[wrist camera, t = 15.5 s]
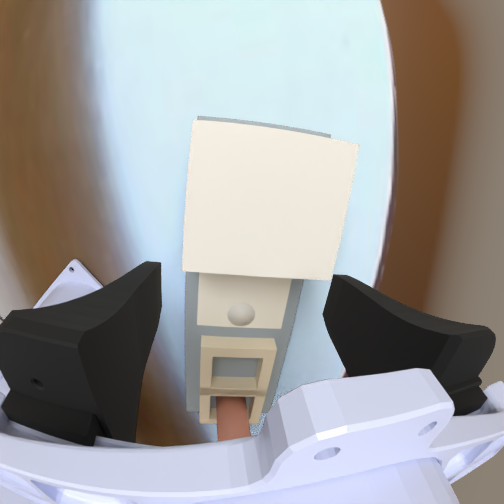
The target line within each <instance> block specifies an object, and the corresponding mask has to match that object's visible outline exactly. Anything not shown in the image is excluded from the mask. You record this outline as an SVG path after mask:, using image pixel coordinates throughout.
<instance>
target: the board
mask: <svg viewBox="0 0 504 504" xmlns="http://www.w3.org/2000/svg"><path fill="white" fill-rule="evenodd" d="M197 120H206V121H218V122H229V123H238V124H247V125H255V126H262V127H269V128H276V129H283V130H289V131H295V132H301V133H306V134H311V135H317V136H322V137H327V138H331V135H330V134H326V133H321V132H316V131H311V130H305V129H300V128H294V127H288V126H282V125H276V124H269V123H262V122H254V121H246V120H237V119H228V118H217V117H205V116H198V118H197ZM303 281H304V279H292V278H275V277H259V276H243V275H229V274H214V273H201V272H188V271H186V282H185V378H186V405H187V411H192V412H200V423H205V424H217V415H216V396H241V397H245V398H246V405H247V412H248V419H249V424H258V423H259V419H260V416H261V413H268V411H269V410H270V408H271V405H272V402H273V398H274V395H275V391H276V388H277V384H278V381H279V377H280V373H281V370H282V366H283V362H284V359H285V355H286V351H287V347H288V343H289V340H290V336H291V332H292V328H293V324H294V320H295V315H296V311H297V307H298V303H299V299H300V294H301V290H302V286H303Z"/></svg>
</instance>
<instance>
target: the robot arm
mask: <svg viewBox="0 0 504 504" xmlns="http://www.w3.org/2000/svg"><path fill="white" fill-rule="evenodd" d="M71 267H72V268H73V269H74V271H73V270H72V269H71ZM161 308H162V296H161V262H149V261H146V262H144V263H142V264H141V265H139V266H137V267H136V268H134V269H133V270H131V271H130V272H128V273H127V274H125V275H123V276H122V277H120V278H119V279H117V280H115V281H113V282H112V283H110V284H108V285H106V286H104V287H103V286H102V285H101V284H100V283H99V282H98V281H97V279H96V278H95V277H94V276H93V275H92V274H91V273H90V272H89V271H88V270H87V269H86V268H85V267H84V266H83V265H82V264H81V262H80V261H78V260H76V259H74V260H72V261H71V262H70V264H69V265H68V266H67V267H66V268H65V269H64V271H63V272H62V273H61V274H60V275H59V276H58V278H57V279H56V280H55V281H54V282H53V284H52V285H51V286H50V287H49V289H48V290H47V291H46V292H45V294H44V295H43V296H42V297H41V299H40V300H39V301H38V302H37V304H36V305H35V306H34V308H33V309H24V310H12V311H11V312H10V313H9V315H8V316H7V317H6V318H5V319H4V321H3V322H2V323H1V324H0V504H460V503H459V501H458V499H457V497H456V495H455V493H454V491H453V489H452V487H451V485H450V484H452V483H453V482H455V481H457V480H458V479H460V478H461V477H463V476H464V475H466V474H467V473H469V472H471V471H472V470H473V469H475V468H477V467H478V466H480V465H481V464H482V463H484V462H485V461H487V460H488V459H490V458H491V457H493V456H494V455H495V454H496V453H497V452H498V451H499V450H500V449H501V448H502V447H503V446H504V384H503V382H502V381H498V382H496V383H494V384H492V385H490V386H488V387H486V388H485V389H484V390H483V391H482V390H481V388H480V387H479V385H481V383H482V380H481V379H480V378H479V377H478V375H479V374H480V372H481V371H482V369H483V368H484V366H485V364H486V363H487V361H488V359H489V358H490V356H491V354H492V352H493V349H494V347H495V341H496V337H495V334H494V333H493V332H492V331H491V330H490V329H489V328H488V327H485V326H481V325H473V324H465V323H459V322H455V321H450V320H445V319H442V318H438V317H435V316H432V315H429V314H426V313H423V312H421V311H418V310H416V309H413V308H411V307H408V306H406V305H404V304H402V303H400V302H397V301H396V300H394V299H391V298H389V297H388V296H386V295H384V294H382V293H381V292H379V291H377V290H375V289H373V288H372V287H370V286H368V285H366V284H364V283H363V282H361V281H359V280H357V279H355V278H353V277H350V276H347V275H336V274H333V278H332V282H331V286H330V289H329V293H328V297H327V300H326V304H325V307H324V311H323V317H324V321H325V325H326V328H327V331H328V333H329V336H330V338H331V340H332V342H333V344H334V346H335V348H336V350H337V353H338V355H339V357H340V359H341V361H342V363H343V365H344V367H345V369H346V372H347V374H348V376H349V377H348V378H337V379H325V380H321V381H317V382H312V383H308V384H304V385H300V386H299V387H297V388H295V389H294V390H292V391H290V392H288V393H286V394H285V395H283V396H281V397H280V398H278V399H277V401H276V402H275V403H274V405H273V406H272V407H271V409H270V410H269V411H268V413H267V414H266V417H265V421H264V424H263V427H262V430H261V432H260V434H259V435H255V436H249V437H244V438H238V439H232V440H225V441H218V442H211V443H203V444H193V445H182V446H168V447H159V446H151V445H143V444H137V443H135V439H136V426H137V416H138V407H139V399H140V392H141V386H142V379H143V374H144V370H145V366H146V363H147V359H148V356H149V353H150V350H151V347H152V344H153V340H154V337H155V334H156V331H157V328H158V324H159V319H160V313H161Z"/></svg>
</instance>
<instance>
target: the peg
mask: <svg viewBox="0 0 504 504" xmlns="http://www.w3.org/2000/svg"><path fill="white" fill-rule="evenodd" d="M216 415H217V434H218V441H225V440H232V439H238V438H244V437H249V436H251V433H250V426H249V419H248V412H247V405H246V398H245V397H241V396H216Z"/></svg>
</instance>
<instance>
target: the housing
mask: <svg viewBox="0 0 504 504" xmlns="http://www.w3.org/2000/svg"><path fill="white" fill-rule="evenodd" d="M358 150H359V145H358V144H354V143H349V142H345V141H341V140H336V139H331V138H327V137H322V136H317V135H311V134H306V133H301V132H295V131H289V130H283V129H276V128H269V127H262V126H255V125H247V124H238V123H229V122H218V121H206V120H193V125H192V134H191V143H190V153H189V163H188V175H187V187H186V201H185V217H184V235H183V259H182V271H188V272H201V273H214V274H229V275H243V276H259V277H275V278H292V279H311V280H331V277H332V273H333V270H334V266H335V262H336V258H337V253H338V249H339V245H340V241H341V236H342V232H343V228H344V223H345V218H346V214H347V209H348V204H349V199H350V194H351V189H352V184H353V178H354V173H355V167H356V162H357V156H358Z"/></svg>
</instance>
